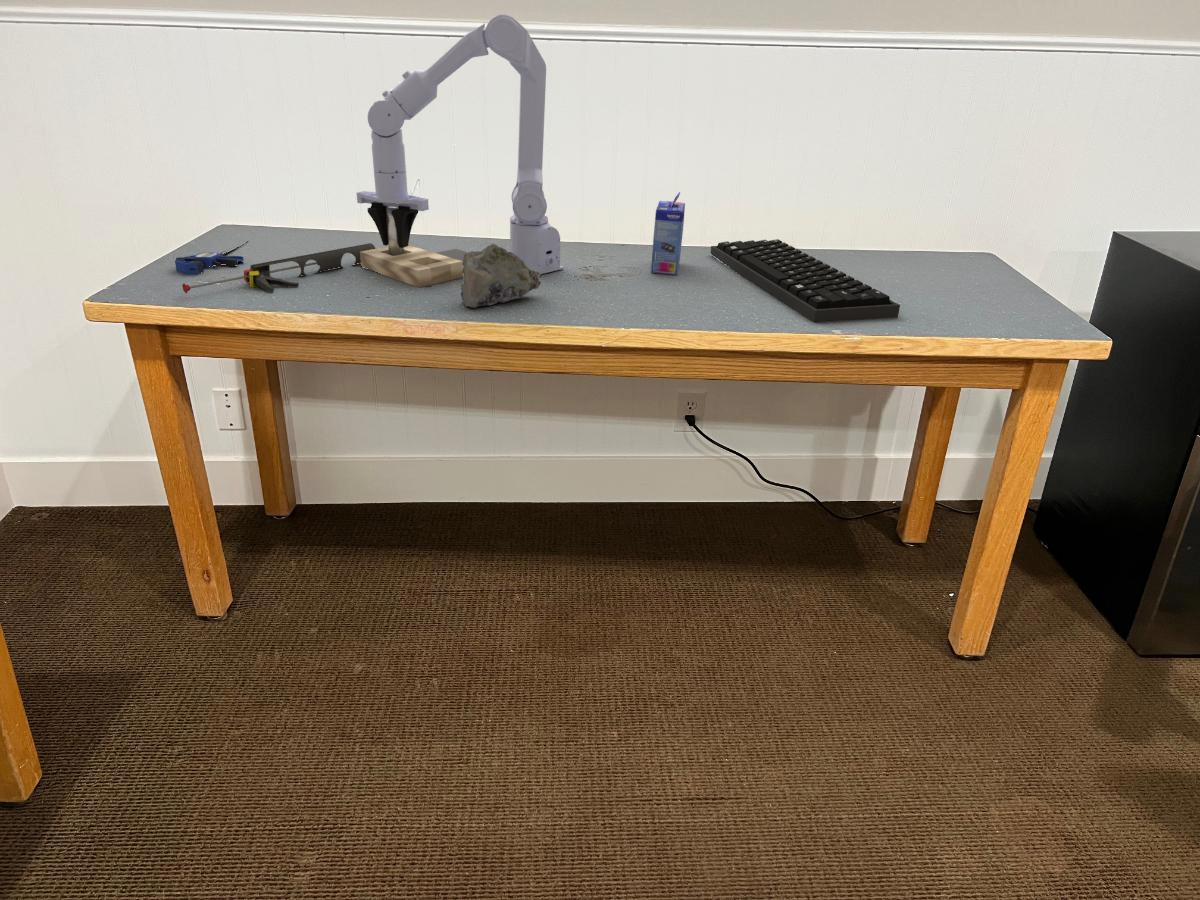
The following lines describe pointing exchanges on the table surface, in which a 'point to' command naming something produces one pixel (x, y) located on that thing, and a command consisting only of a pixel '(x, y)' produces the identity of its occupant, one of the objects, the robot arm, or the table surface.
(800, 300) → the computer keyboard
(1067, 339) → the table surface
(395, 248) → the peg
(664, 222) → the ink cartridge box
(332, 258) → the caulking gun
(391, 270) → the hole block
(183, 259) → the bar clamp
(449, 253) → the mat
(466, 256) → the mineral rock
